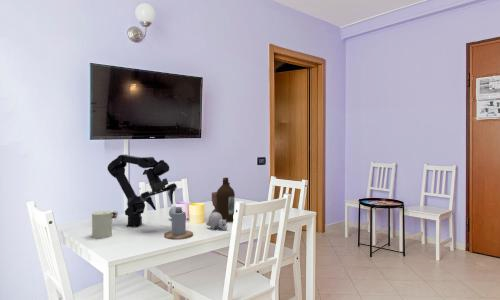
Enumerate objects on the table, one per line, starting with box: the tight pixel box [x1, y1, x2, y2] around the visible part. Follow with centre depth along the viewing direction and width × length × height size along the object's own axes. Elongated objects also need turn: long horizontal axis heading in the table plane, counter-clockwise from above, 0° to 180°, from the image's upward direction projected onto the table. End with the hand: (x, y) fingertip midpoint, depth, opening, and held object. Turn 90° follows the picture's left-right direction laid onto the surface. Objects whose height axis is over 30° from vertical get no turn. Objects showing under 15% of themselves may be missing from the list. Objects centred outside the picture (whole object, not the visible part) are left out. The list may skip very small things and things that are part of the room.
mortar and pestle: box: [211, 181, 231, 214], centre depth 230 cm, size 12×9×20 cm
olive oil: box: [216, 177, 236, 223], centre depth 210 cm, size 11×11×25 cm
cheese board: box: [163, 229, 194, 240], centre depth 178 cm, size 14×14×4 cm
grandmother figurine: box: [112, 210, 119, 218], centre depth 214 cm, size 8×4×13 cm
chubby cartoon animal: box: [206, 212, 228, 231], centre depth 191 cm, size 7×12×8 cm, turn 56°
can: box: [91, 210, 113, 239], centre depth 176 cm, size 9×9×12 cm
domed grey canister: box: [171, 206, 187, 236], centre depth 178 cm, size 7×7×13 cm
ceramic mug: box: [168, 205, 177, 219], centre depth 211 cm, size 11×8×8 cm
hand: (164, 207), depth 186 cm, fingers open, 9 cm apart
